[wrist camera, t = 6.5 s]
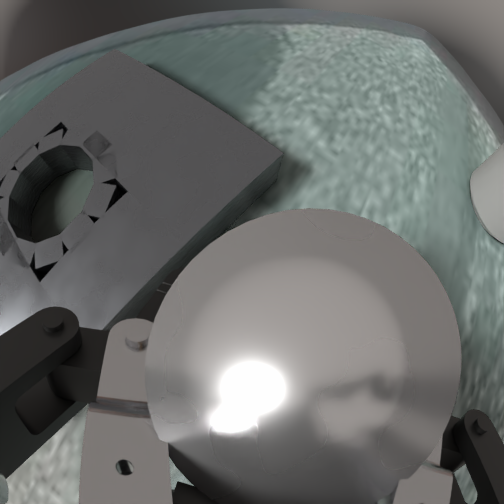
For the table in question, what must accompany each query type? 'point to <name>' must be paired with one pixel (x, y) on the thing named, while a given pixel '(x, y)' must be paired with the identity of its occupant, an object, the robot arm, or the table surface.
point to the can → (490, 194)
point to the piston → (303, 362)
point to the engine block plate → (121, 190)
